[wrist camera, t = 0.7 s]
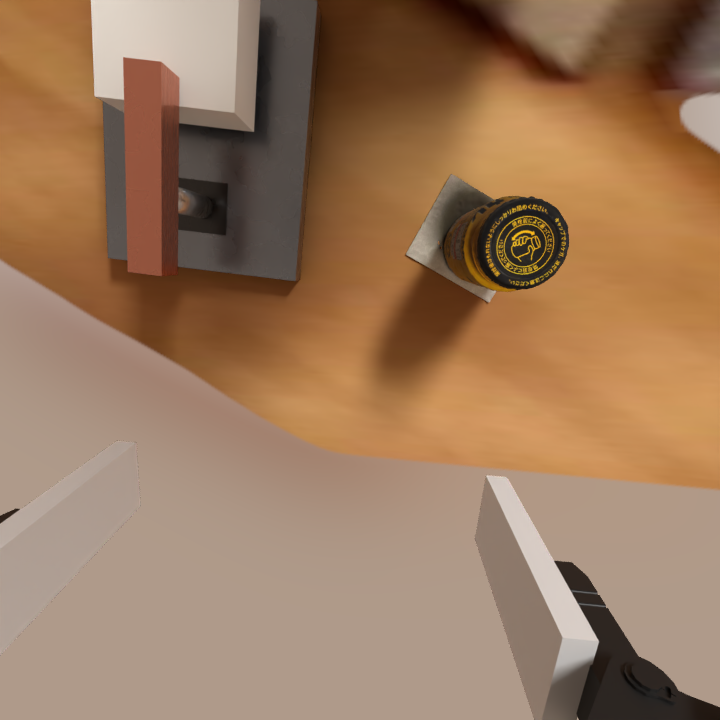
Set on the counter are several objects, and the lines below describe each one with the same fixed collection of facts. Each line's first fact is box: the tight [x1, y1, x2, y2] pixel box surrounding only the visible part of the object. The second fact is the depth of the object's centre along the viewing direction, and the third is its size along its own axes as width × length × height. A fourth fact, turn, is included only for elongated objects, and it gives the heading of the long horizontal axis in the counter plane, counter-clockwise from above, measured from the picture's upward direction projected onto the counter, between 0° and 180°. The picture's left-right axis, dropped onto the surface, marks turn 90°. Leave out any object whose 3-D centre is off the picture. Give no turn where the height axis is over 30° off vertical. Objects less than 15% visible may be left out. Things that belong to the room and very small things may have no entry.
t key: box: [123, 57, 213, 276], centre depth 29 cm, size 12×2×8 cm, turn 173°
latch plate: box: [103, 0, 321, 281], centre depth 31 cm, size 20×16×7 cm
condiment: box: [406, 174, 569, 302], centre depth 29 cm, size 7×8×12 cm
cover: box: [91, 0, 260, 132], centre depth 27 cm, size 9×9×4 cm
